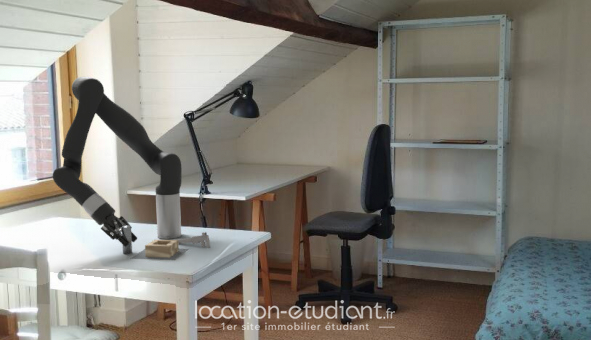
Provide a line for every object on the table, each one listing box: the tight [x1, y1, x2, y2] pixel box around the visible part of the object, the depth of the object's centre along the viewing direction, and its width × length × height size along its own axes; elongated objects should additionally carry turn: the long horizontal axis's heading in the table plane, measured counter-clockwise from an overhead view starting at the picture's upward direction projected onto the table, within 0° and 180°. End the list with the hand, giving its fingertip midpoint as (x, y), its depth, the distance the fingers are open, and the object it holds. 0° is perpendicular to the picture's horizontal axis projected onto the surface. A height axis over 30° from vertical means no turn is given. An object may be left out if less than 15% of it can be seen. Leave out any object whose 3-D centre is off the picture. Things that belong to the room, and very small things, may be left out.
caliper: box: [175, 231, 211, 249], centre depth 242 cm, size 20×1×6 cm, turn 63°
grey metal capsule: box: [121, 225, 133, 255], centre depth 230 cm, size 3×3×10 cm
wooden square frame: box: [144, 239, 180, 258], centre depth 229 cm, size 9×9×4 cm
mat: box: [129, 248, 189, 261], centre depth 230 cm, size 15×16×1 cm
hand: (131, 242), depth 230 cm, fingers open, 6 cm apart
